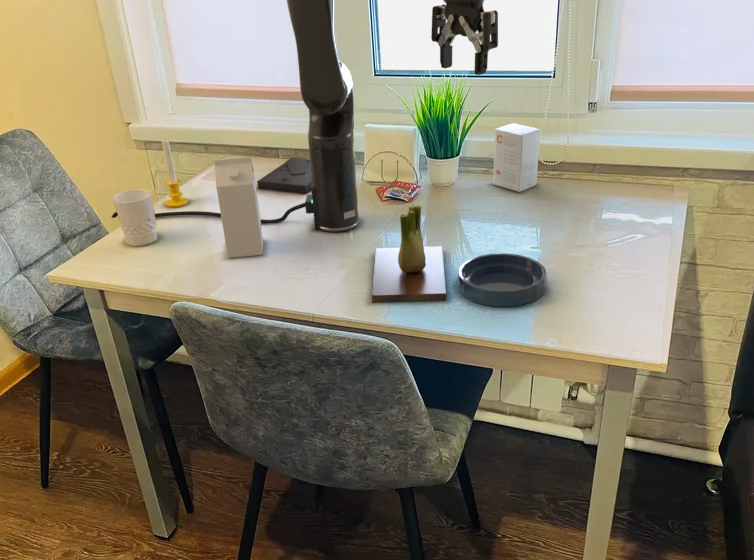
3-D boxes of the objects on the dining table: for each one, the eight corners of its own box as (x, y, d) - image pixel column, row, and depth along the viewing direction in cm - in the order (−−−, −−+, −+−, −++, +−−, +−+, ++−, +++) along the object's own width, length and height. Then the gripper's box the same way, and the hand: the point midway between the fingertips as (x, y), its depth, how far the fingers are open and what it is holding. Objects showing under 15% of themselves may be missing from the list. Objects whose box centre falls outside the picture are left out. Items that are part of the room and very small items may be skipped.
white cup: (167, 235, 170) (158, 190, 165) (145, 249, 164) (135, 204, 159) (138, 230, 173) (128, 187, 168) (116, 245, 167) (104, 200, 162)
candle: (192, 201, 187) (180, 135, 178) (177, 208, 183) (164, 142, 174) (176, 198, 189) (164, 133, 180) (161, 205, 186) (148, 139, 177)
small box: (537, 185, 181) (541, 128, 174) (518, 192, 178) (522, 135, 171) (510, 177, 187) (513, 122, 179) (492, 184, 183) (494, 128, 176)
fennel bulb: (404, 278, 142) (402, 216, 135) (391, 268, 146) (389, 207, 139) (432, 270, 144) (431, 208, 137) (418, 261, 148) (417, 200, 141)
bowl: (460, 309, 134) (461, 292, 133) (456, 270, 147) (456, 254, 145) (550, 306, 133) (552, 290, 131) (538, 268, 146) (539, 252, 144)
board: (372, 302, 138) (371, 295, 137) (376, 255, 155) (375, 248, 154) (446, 301, 137) (446, 293, 136) (442, 253, 154) (442, 246, 153)
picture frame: (292, 165, 204) (257, 188, 191) (291, 157, 203) (256, 179, 190) (338, 169, 199) (306, 193, 186) (337, 161, 198) (305, 184, 185)
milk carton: (229, 244, 164) (215, 154, 153) (263, 241, 164) (251, 151, 153) (227, 258, 158) (212, 166, 147) (263, 255, 158) (250, 162, 147)
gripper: (420, -29, 137) (421, 69, 146) (479, -24, 127) (477, 80, 136) (451, -34, 140) (450, 62, 149) (511, -30, 131) (506, 72, 140)
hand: (463, 70), depth 143 cm, fingers open, 8 cm apart
